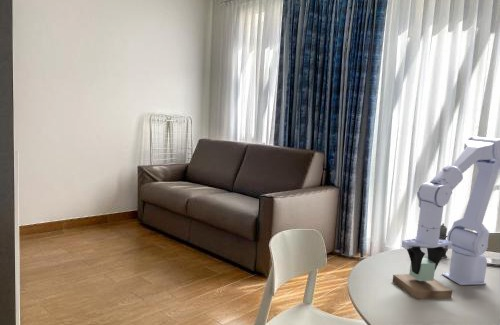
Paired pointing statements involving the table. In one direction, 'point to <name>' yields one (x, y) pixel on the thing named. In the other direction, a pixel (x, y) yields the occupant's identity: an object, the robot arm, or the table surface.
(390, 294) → the table surface
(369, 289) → the table surface
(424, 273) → the sage block
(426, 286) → the walnut base
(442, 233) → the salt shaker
